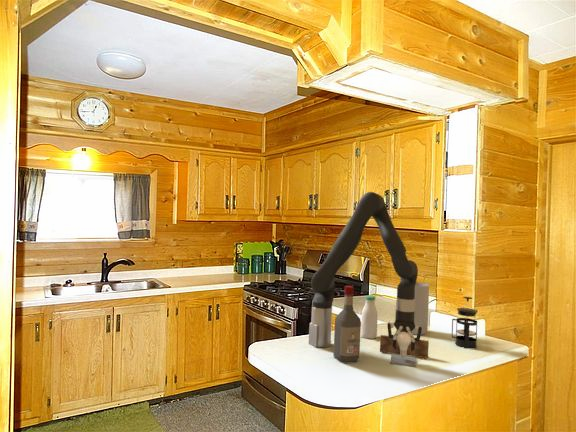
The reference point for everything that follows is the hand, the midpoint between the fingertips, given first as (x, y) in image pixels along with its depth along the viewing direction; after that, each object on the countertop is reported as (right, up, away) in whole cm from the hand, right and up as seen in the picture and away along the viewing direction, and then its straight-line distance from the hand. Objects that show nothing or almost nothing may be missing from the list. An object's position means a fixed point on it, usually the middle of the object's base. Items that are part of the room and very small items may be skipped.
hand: (403, 349), depth 166 cm
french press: (+36, -6, +24) cm, 44 cm away
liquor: (-24, -4, 0) cm, 24 cm away
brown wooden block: (+2, -5, +9) cm, 10 cm away
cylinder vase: (+19, -6, +44) cm, 49 cm away
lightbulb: (0, -3, 0) cm, 3 cm away
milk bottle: (-8, -5, +32) cm, 34 cm away
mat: (0, -5, 0) cm, 5 cm away
